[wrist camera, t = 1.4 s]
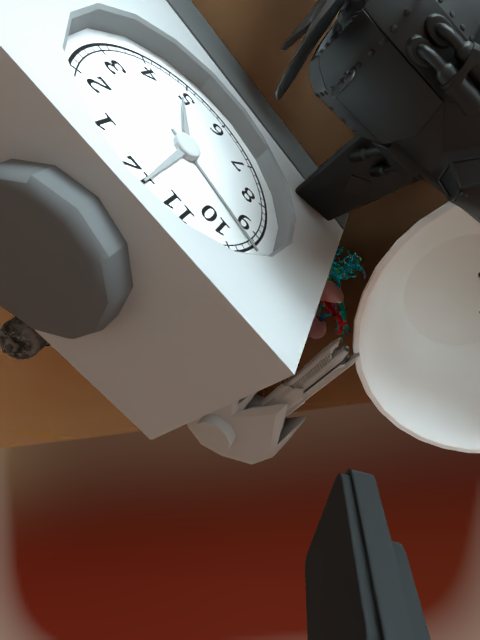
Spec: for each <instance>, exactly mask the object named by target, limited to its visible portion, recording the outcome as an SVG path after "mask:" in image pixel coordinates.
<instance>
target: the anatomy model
mask: <svg viewBox="0 0 480 640" xmlns="http://www.w3.org/2000/svg"><path fill="white" fill-rule="evenodd" d="M338 246H339V245H338ZM341 249H344V247H341V246H340V249H337V250H339V253H337V254H335V257H336V256H338V255H339V254H340V255H341V254H342V251H344V250H341ZM347 251H348V254H349V250H347ZM340 252H341V253H340ZM343 253H344V252H343ZM354 255H355V256H354ZM357 256H358V255H357ZM357 256H356V253H354V254H353V255H352V254H351V255H349V256H347V257H346V258H343V260H342V261H338V262H337V263H336V262H334V260H335V257H334V260H333V263H332V266H331V269H330V272H331V273H330V272H329V275H328V278H327V280H326V283H325V286H324V289H323V292H322V295H321V298H320V299H321V301H322V302H323V304H321V305H320V307H319V308H318V307H317V310H316V313H315V316H314V319H313V322H312V325H311V328H310V331H309V334H308V336H309V337H311V338H313V339H319V338H321V337H323V336H324V335H325V333H326V330H327V327H326V323H325V322H324V321H321V320H322V319H324V318H325V317H327V316H330V315H332V316H334V318H335V319H336V320H337V321H336V323H337V326H338V324H339V326H338V327H337V328H335V329H334V330H338V335H340V334H341V332H342V330H343V332H342V339H341V341H342V344H343V333H344V330H347V329H348V330H349V328H348V325H347V322H346V314H347V308H346V312H345V305H344V302H343V298H344V296H343V293H342V291H341V289H340V286H341V285H340V280H343V279H344V280H347V279H348V278H353V277H356V276H355V275H354V276H349V275H348V274H352V273H356V272H353V270H358V271H359V270H360V271H362V272H363V278H364V279H365V278H366V274H365V272H364V270H363V269H362V268H364V266H363V267H362V268H361V267H360V265H359V264H358V262H360V261H362V260H361V258H360V261H358V260H359V256H358V259H357V260H356V258H354V257H357ZM350 257H352V259H351V260H350ZM347 258H348V261H347V260H346V261H347V263H346V262H345V259H347ZM338 259H339V260H340V258H338ZM353 259H354V260H353ZM352 261H355V262H356V263H355V262H354V263H352ZM357 261H358V262H357ZM338 263H339V264H340V265H341V264H342V263H344V264H345V265H346V267H345V265H343V266H342V267H341V266H340V265H338ZM333 264H334V265H333ZM352 264H355V265H352ZM351 265H352V266H351ZM338 267H339V268H338ZM349 268H350V270H349V271H347V270H348V269H349ZM351 268H353V269H351ZM336 271H338V273H337V272H336ZM339 271H340V272H339ZM351 271H352V272H351ZM343 274H344V275H343ZM346 274H347V275H346ZM338 275H339V276H338ZM342 275H343V276H344V278H343V276H342ZM329 276H331V279H330V278H329ZM333 276H334V281H335V283H336V284H335V283H333V282H332V280H333ZM341 276H342V277H341ZM323 306H326V308H327V310H329V313H325V314H322V315H320V310H321V308H322V307H323ZM337 307H339V308H340V310H339V312H337V311H336V308H337ZM341 315H342V317H343V318H342V317H341ZM318 319H320V320H318ZM343 326H344V329H343ZM346 332H347V335H348V336H349V334H348V331H346ZM349 332H350V330H349Z"/></svg>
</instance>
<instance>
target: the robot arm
mask: <svg viewBox="0 0 480 640" xmlns="http://www.w3.org/2000/svg"><path fill="white" fill-rule="evenodd" d="M305 583H306V608H307V633H308V640H430V636H429V632H428V629H427V625H426V622H425V618H424V615H423V611H422V608H421V605H420V601H419V598H418V594H417V591H416V587H415V584H414V580H413V577H412V573H411V570H410V566H409V563H408V559H407V556H406V553H405V550H404V548H403V546H402V545H401V544H400V543H397V542H393V541H391V537H390V534H389V530H388V526H387V522H386V518H385V515H384V511H383V507H382V503H381V499H380V495H379V491H378V488H377V484H376V480H375V477H374V476H373V475H372V474H368V473H364V472H360V471H356V470H352V469H348V470H347V471H346V474H341V473H339V474H338V475H337V477H336V479H335V482H334V485H333V487H332V490H331V493H330V495H329V498H328V500H327V503H326V506H325V508H324V511H323V513H322V516H321V519H320V521H319V524H318V526H317V529H316V532H315V534H314V537H313V540H312V542H311V545H310V547H309V550H308V553H307V556H306V562H305Z"/></svg>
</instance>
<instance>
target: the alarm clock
mask: <svg viewBox="0 0 480 640" xmlns="http://www.w3.org/2000/svg"><path fill="white" fill-rule="evenodd" d="M317 169H318V167H317V166H316V165H315V163H314V162H313V161H312V160H311V158H310V157H309V156H308V154H307V153H306V152H305V150H304V149H303V148H302V146H301V145H300V144H299V142H298V141H297V140H296V138H295V137H294V136H293V134H292V133H291V132H290V130H289V129H288V128H287V126H286V125H285V124H284V123H283V121H282V120H281V119H280V117H279V116H278V115H277V113H276V112H275V111H274V109H273V108H272V107H271V105H270V104H269V103H268V101H267V100H266V99H265V97H264V96H263V95H262V93H261V92H260V91H259V90H258V88H257V87H256V86H255V84H254V83H253V82H252V80H251V79H250V78H249V76H248V75H247V74H246V72H245V71H244V70H243V68H242V67H241V66H240V64H239V63H238V62H237V60H236V59H235V58H234V57H233V55H232V54H231V53H230V51H229V50H228V49H227V47H226V46H225V45H224V43H223V42H222V41H221V39H220V38H219V37H218V35H217V34H216V33H215V31H214V30H213V29H212V27H211V26H210V25H209V23H208V22H207V21H206V20H205V18H204V17H203V16H202V14H201V13H200V12H199V10H198V9H197V8H196V6H195V5H194V4H193V2H192V1H191V0H0V306H1V307H3V308H4V309H6V310H7V311H8V312H10V313H11V314H13V315H14V316H15V317H17V318H18V319H20V320H21V321H23V322H24V323H25V324H27V325H28V326H30V327H31V328H32V329H34V330H35V331H36V332H37V333H38V334H40V335H41V336H42V337H43V338H44V339H45V340H46V341H47V342H48V343H49V344H50V345H51V346H52V347H53V348H54V349H55V350H56V351H57V352H58V353H60V354H61V355H62V356H63V357H64V358H65V359H66V360H67V361H68V362H69V363H70V364H71V365H72V366H73V367H74V368H75V369H76V370H77V371H78V372H80V373H81V374H82V375H83V376H84V377H85V378H86V379H87V380H88V381H89V382H90V383H91V384H92V385H93V386H94V387H95V388H96V389H97V390H99V391H100V392H101V393H102V394H103V395H104V396H105V397H106V398H107V399H108V400H109V401H110V402H111V403H112V404H113V405H114V406H115V407H116V408H117V409H119V410H120V411H121V412H122V413H123V414H124V415H125V416H126V417H127V418H128V419H129V420H130V421H131V422H132V423H133V424H134V425H135V426H136V427H138V428H139V429H140V430H141V431H142V432H143V433H144V434H145V435H146V436H147V437H148V438H149V439H150V440H152V439H154V438H157V437H159V436H161V435H163V434H165V433H168V432H170V431H172V430H174V429H176V428H179V427H181V426H183V425H185V424H187V423H190V422H192V421H194V420H196V419H198V418H201V417H203V416H205V415H207V414H209V413H212V412H214V411H216V410H218V409H220V408H223V407H225V406H227V405H229V404H231V403H234V402H236V401H238V400H240V399H242V398H245V397H247V396H249V395H251V394H253V393H255V392H258V391H260V390H262V389H264V388H266V387H269V386H271V385H273V384H275V383H277V382H280V381H282V380H284V379H286V378H288V377H291V376H293V375H295V372H296V369H297V366H298V363H299V360H300V357H301V354H302V351H303V348H304V346H305V343H306V340H307V337H308V334H309V331H310V328H311V325H312V322H313V319H314V316H315V313H316V310H317V307H318V304H319V301H320V298H321V295H322V292H323V289H324V286H325V283H326V280H327V278H328V275H329V272H330V269H331V266H332V263H333V260H334V257H335V254H336V251H337V248H338V245H339V242H340V239H341V236H342V233H343V229H344V228H345V225H346V222H347V219H348V215H349V212H348V213H346V214H344V215H341V216H339V217H337V218H335V219H333V220H330V221H327V220H326V219H325V218H324V217H323V216H321V215H320V213H318V212H317V211H316V210H314V209H313V208H312V207H311V206H310V205H309V204H308V203H307V202H305V201H304V200H303V199H302V198H301V197H300V196H299V195H298V194H296V192H295V190H296V188H297V187H298V186H299V185H300V184H301V183H303V182H304V181H305V180H306V179H307V178H308V177H309V176H310V175H311V174H313V173H314V172H315V171H316V170H317Z"/></svg>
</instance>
